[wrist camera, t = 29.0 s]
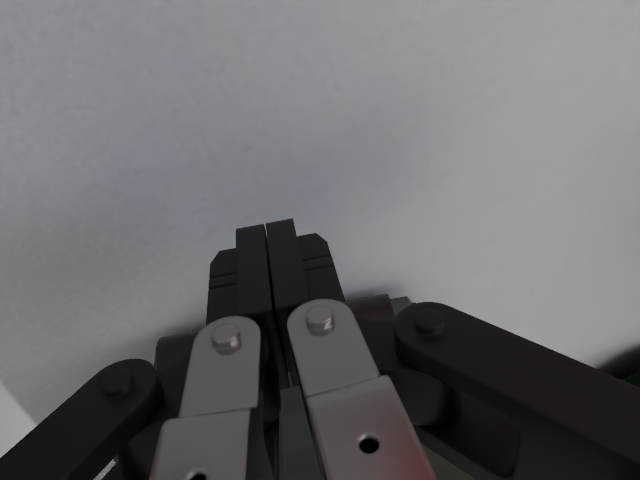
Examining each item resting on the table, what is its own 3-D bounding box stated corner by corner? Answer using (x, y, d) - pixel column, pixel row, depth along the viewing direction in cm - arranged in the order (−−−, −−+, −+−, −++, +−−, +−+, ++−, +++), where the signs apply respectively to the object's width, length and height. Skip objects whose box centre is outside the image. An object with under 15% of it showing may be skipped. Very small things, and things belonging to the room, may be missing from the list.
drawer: (119, 245, 17) (28, 488, 9) (403, 193, 17) (531, 382, 10) (220, 498, 25) (215, 739, 17) (414, 456, 25) (489, 671, 18)
